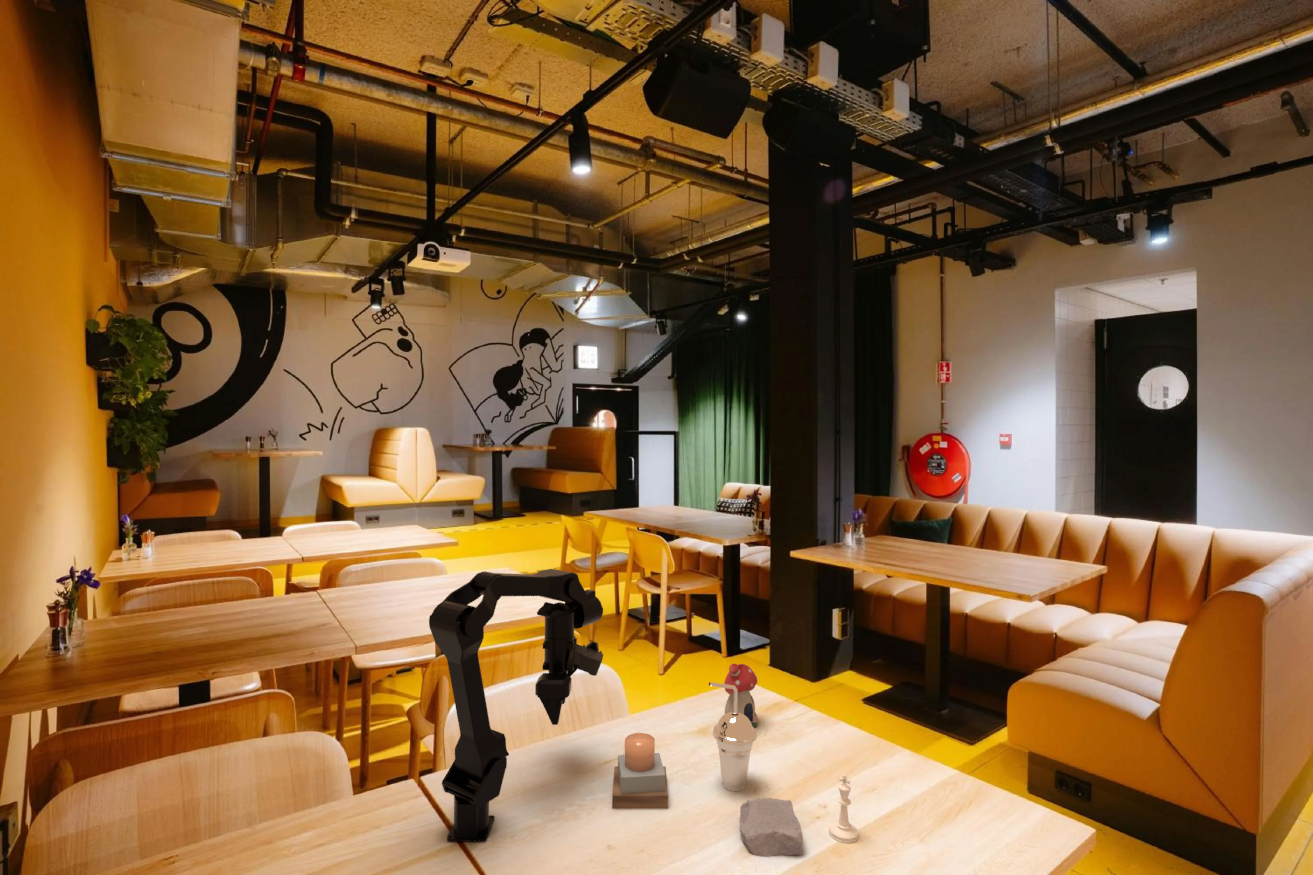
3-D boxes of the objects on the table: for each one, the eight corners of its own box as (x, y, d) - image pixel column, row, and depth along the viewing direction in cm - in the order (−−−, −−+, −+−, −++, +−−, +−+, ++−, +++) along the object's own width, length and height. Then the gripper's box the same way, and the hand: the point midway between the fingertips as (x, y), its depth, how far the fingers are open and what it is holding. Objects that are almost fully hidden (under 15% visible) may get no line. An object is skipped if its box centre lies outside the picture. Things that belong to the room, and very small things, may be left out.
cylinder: (655, 771, 120) (655, 746, 120) (624, 771, 120) (624, 747, 120) (653, 755, 126) (653, 732, 126) (624, 756, 126) (624, 733, 126)
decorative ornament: (732, 735, 146) (733, 668, 146) (715, 723, 152) (716, 659, 152) (764, 725, 151) (766, 661, 151) (746, 715, 157) (747, 652, 156)
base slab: (667, 811, 118) (668, 795, 118) (612, 811, 118) (612, 795, 118) (665, 781, 128) (665, 766, 128) (614, 781, 128) (614, 766, 128)
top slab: (665, 791, 119) (665, 774, 119) (621, 793, 118) (621, 777, 118) (659, 768, 127) (659, 752, 127) (617, 770, 126) (618, 754, 126)
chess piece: (836, 821, 115) (837, 764, 115) (863, 832, 112) (864, 774, 112) (823, 834, 111) (824, 776, 111) (851, 846, 108) (852, 786, 108)
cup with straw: (751, 800, 121) (753, 692, 120) (704, 791, 124) (705, 685, 123) (759, 777, 129) (761, 676, 128) (714, 769, 132) (716, 670, 131)
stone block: (748, 869, 105) (809, 856, 105) (742, 839, 105) (803, 827, 105) (738, 826, 117) (792, 815, 117) (732, 799, 117) (787, 788, 117)
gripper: (596, 651, 119) (595, 736, 120) (604, 620, 138) (603, 694, 138) (535, 650, 119) (534, 735, 119) (550, 620, 138) (550, 693, 138)
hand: (558, 713), depth 129 cm, fingers open, 9 cm apart
